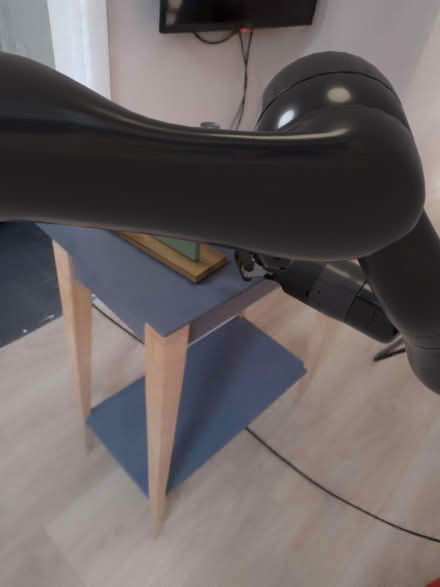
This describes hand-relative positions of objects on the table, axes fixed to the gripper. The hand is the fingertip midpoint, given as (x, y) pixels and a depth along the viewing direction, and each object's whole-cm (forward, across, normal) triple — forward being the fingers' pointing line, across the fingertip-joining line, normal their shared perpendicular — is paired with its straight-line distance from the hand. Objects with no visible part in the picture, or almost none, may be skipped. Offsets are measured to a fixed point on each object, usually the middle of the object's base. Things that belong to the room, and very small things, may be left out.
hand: (222, 229), depth 58 cm
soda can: (+26, -28, +10) cm, 39 cm away
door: (+10, 0, +8) cm, 13 cm away
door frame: (+14, -1, +10) cm, 17 cm away
